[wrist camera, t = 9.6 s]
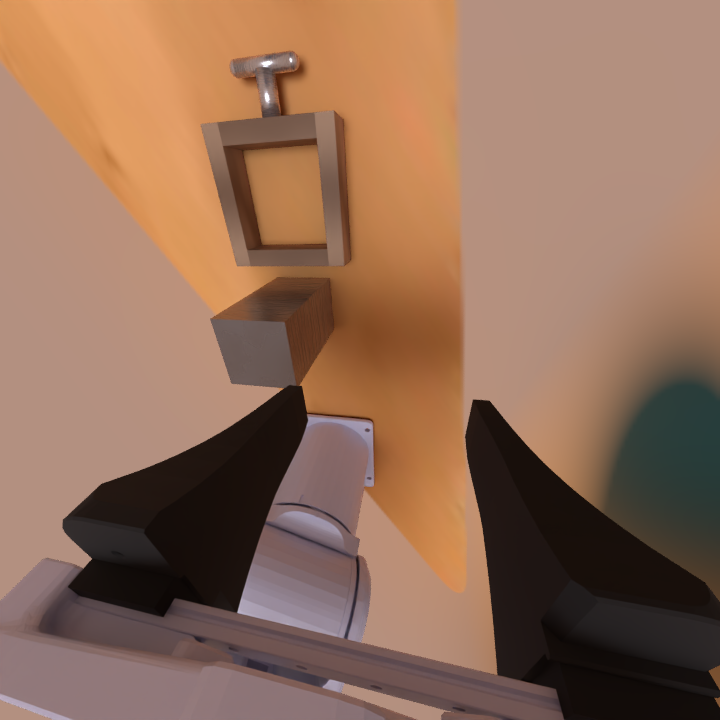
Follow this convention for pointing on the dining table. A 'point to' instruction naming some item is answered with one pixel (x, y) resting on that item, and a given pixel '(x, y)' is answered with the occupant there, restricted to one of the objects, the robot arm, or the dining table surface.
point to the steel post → (276, 331)
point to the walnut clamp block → (273, 133)
